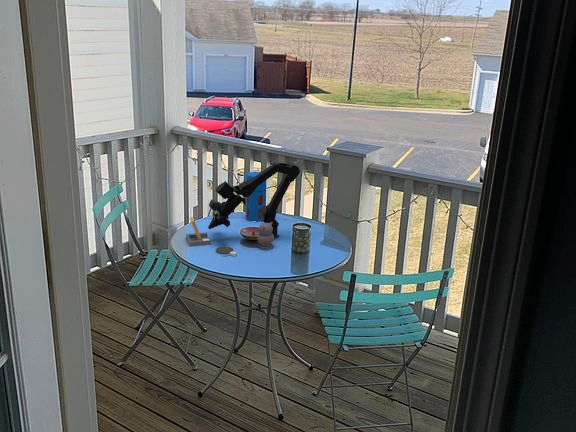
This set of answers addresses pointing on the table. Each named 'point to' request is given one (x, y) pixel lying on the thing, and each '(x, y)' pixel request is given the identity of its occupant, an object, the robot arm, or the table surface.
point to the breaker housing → (198, 242)
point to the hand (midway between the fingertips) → (208, 228)
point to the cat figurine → (265, 236)
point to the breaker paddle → (195, 228)
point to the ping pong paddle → (226, 251)
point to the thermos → (255, 200)
